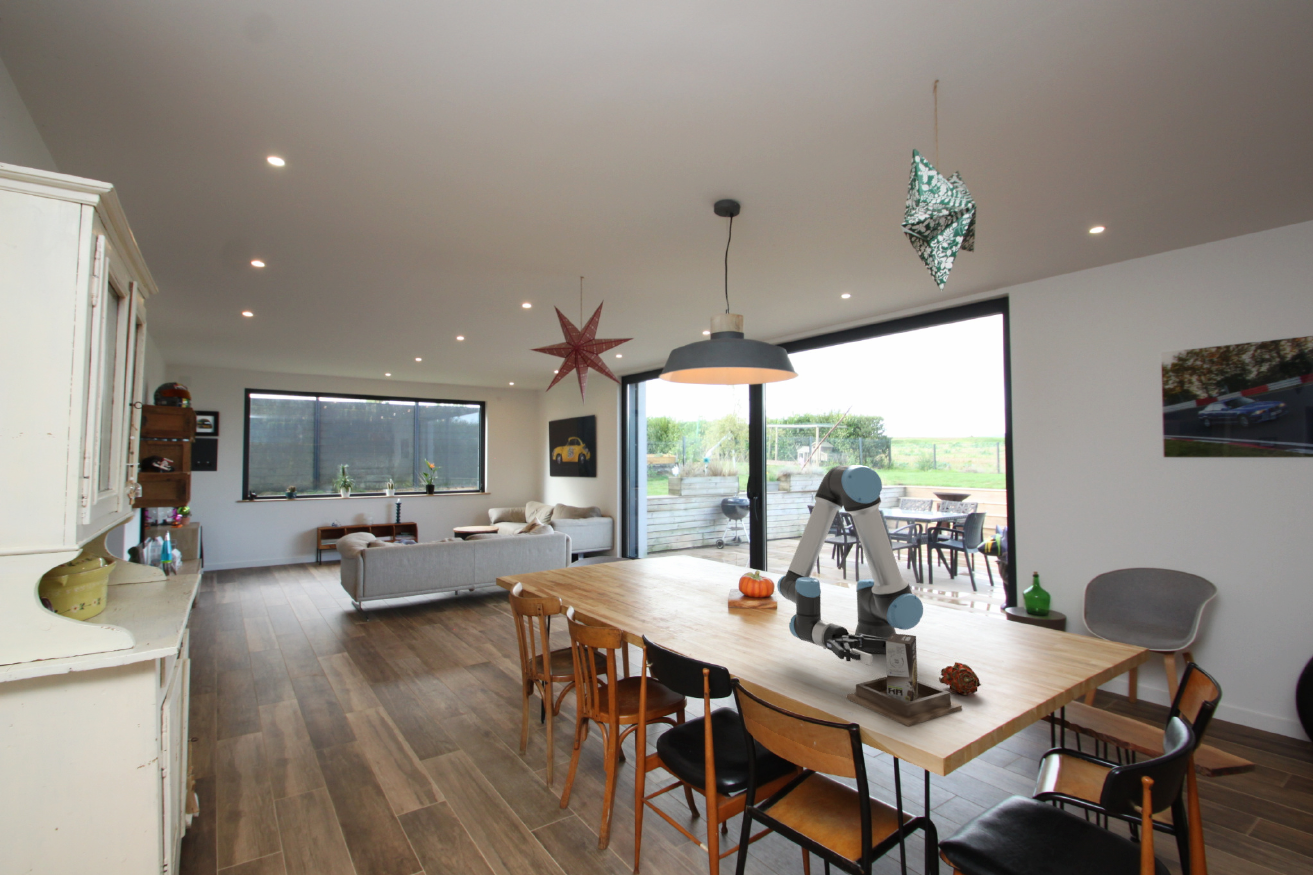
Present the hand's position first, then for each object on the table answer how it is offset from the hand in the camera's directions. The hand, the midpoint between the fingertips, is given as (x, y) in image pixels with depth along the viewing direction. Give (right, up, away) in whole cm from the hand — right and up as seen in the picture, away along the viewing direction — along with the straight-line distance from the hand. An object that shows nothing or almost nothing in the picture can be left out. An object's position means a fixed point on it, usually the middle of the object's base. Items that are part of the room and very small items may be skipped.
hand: (889, 655), depth 164 cm
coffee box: (+2, -11, -4) cm, 11 cm away
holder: (+2, -11, -4) cm, 12 cm away
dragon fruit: (+21, -12, +4) cm, 24 cm away
